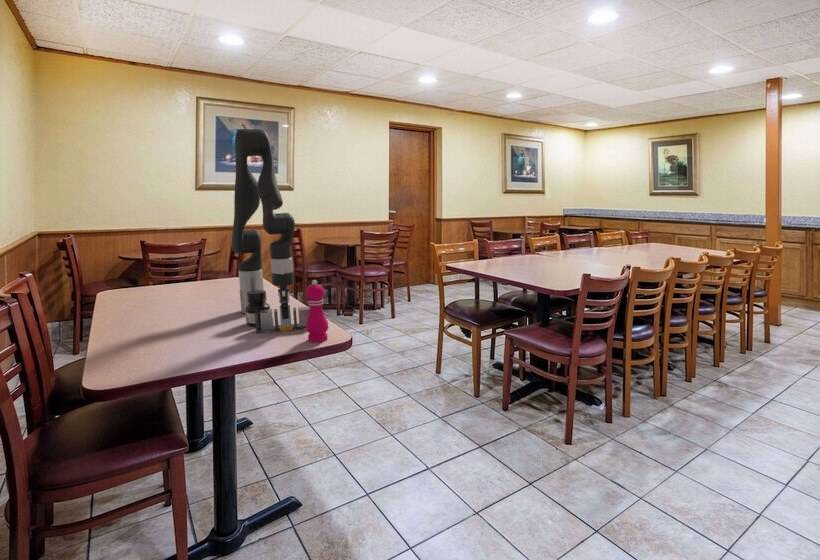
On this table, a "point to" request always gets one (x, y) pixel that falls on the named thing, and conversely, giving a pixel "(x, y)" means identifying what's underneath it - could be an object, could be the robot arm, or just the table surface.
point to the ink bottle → (255, 305)
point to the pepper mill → (316, 314)
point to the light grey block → (285, 321)
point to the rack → (267, 320)
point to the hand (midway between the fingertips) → (285, 315)
